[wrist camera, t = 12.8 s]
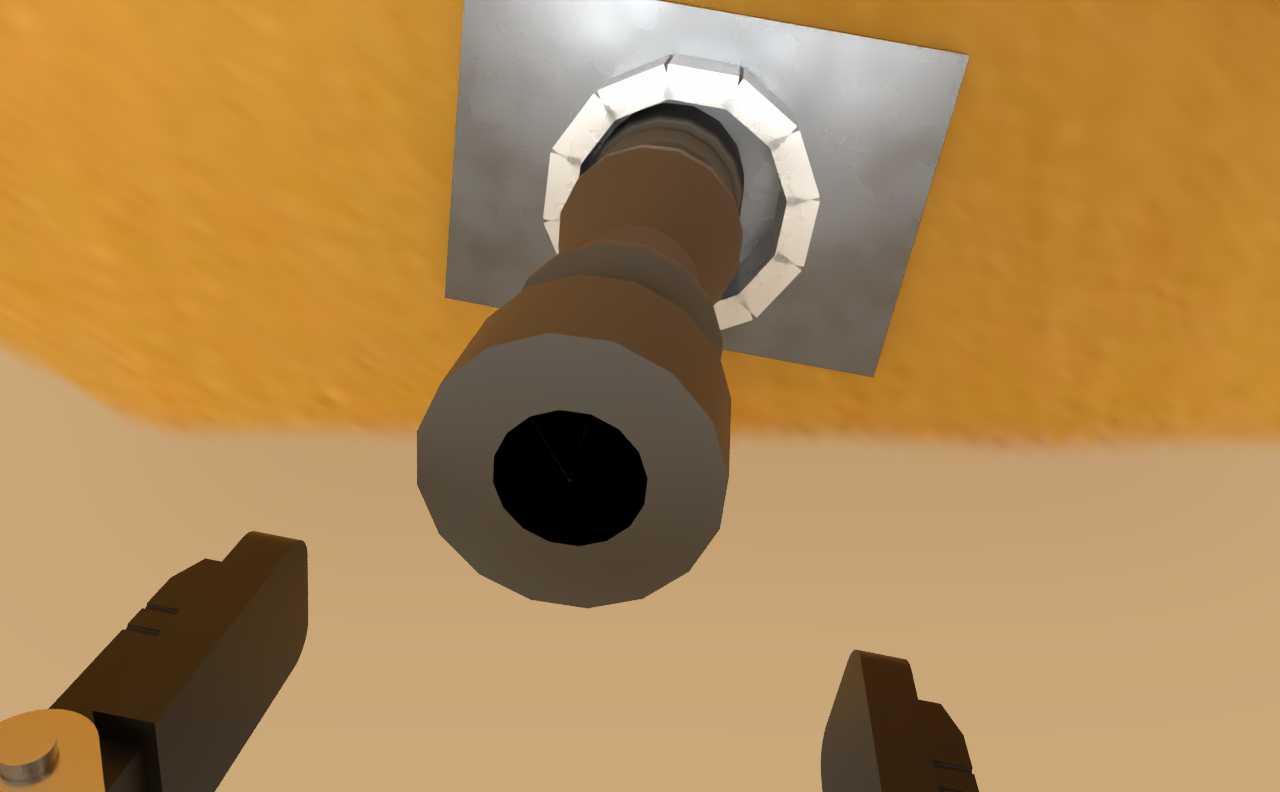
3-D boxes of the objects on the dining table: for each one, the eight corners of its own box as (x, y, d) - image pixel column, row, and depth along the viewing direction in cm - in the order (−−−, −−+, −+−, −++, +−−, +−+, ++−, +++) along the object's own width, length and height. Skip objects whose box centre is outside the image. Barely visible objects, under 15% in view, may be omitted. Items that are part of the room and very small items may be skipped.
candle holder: (678, 277, 41) (596, 670, 18) (569, 185, 39) (336, 486, 17) (774, 171, 38) (818, 474, 16) (662, 69, 37) (535, 242, 15)
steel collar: (965, 53, 36) (994, 67, 32) (871, 370, 42) (885, 416, 38) (471, -34, 37) (435, -33, 32) (449, 292, 43) (416, 329, 39)
